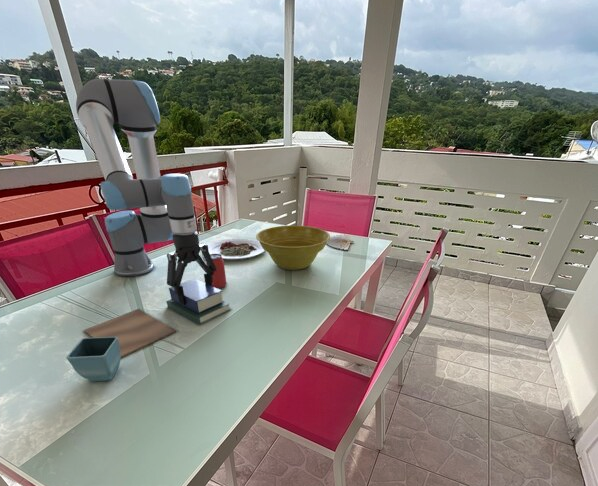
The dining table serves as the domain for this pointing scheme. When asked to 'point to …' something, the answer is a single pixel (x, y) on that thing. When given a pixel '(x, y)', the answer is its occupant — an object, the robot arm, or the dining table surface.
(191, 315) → the green notebook
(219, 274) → the beer can
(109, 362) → the flower pot
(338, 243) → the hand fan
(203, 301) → the navy book
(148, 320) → the brown wooden board
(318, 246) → the planter bowl
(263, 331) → the dining table surface
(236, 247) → the plated food
